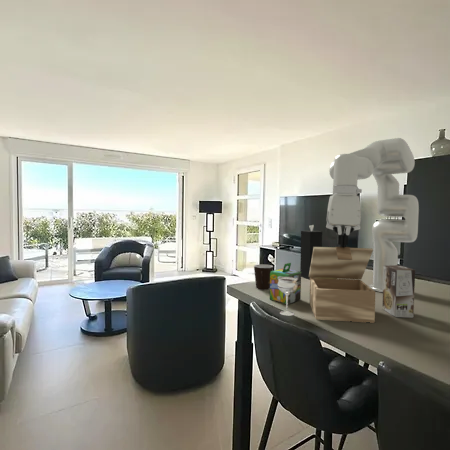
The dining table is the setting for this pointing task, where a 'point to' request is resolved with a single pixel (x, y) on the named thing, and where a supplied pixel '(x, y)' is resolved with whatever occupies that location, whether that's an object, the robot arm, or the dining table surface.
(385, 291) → the coffee box
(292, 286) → the wineglass
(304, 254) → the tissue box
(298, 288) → the chalk box
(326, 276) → the lid
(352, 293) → the box
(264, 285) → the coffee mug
